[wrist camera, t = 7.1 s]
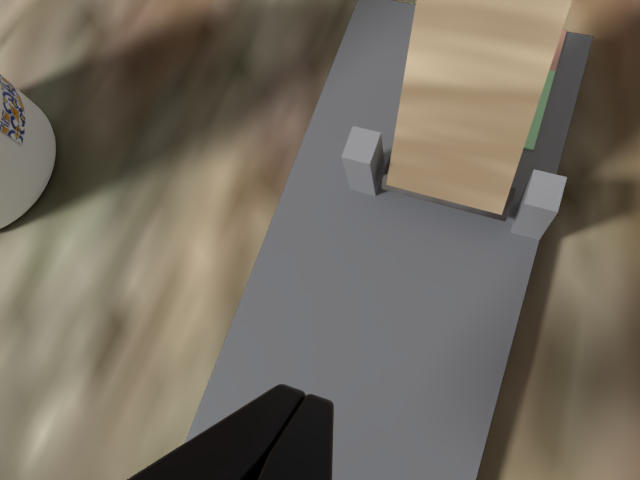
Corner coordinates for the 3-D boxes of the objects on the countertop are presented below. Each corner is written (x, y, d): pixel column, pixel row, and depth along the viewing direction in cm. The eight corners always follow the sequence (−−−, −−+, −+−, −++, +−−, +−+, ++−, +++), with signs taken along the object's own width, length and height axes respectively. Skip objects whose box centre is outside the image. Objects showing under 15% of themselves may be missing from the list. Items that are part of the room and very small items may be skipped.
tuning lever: (502, 231, 19) (596, -48, 14) (378, 197, 20) (420, -73, 15) (508, 206, 20) (596, -60, 15) (390, 176, 21) (433, -82, 16)
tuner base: (446, 576, 18) (453, 613, 15) (186, 465, 20) (137, 474, 17) (585, 52, 23) (617, -17, 19) (361, 10, 25) (352, -58, 22)
